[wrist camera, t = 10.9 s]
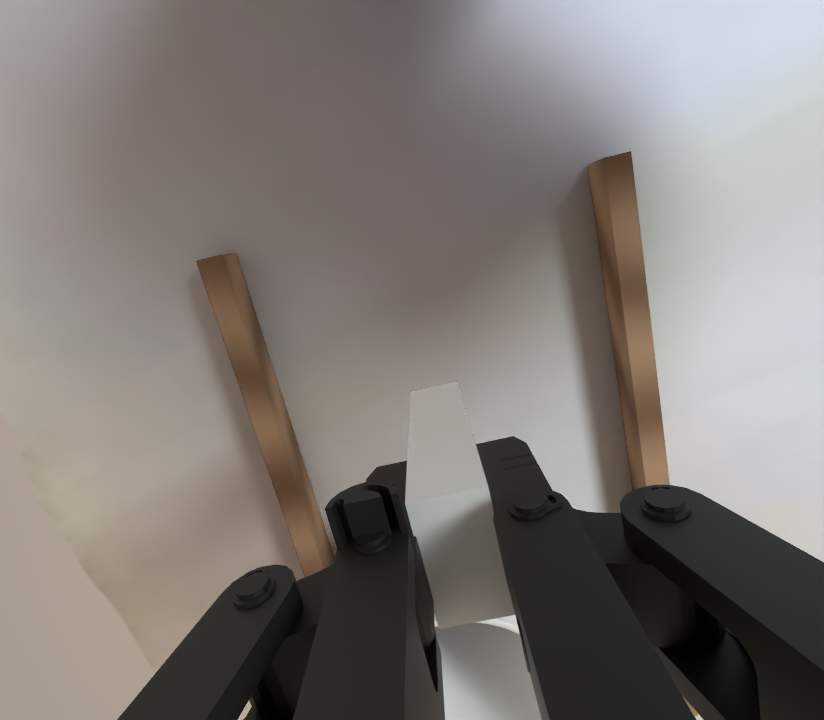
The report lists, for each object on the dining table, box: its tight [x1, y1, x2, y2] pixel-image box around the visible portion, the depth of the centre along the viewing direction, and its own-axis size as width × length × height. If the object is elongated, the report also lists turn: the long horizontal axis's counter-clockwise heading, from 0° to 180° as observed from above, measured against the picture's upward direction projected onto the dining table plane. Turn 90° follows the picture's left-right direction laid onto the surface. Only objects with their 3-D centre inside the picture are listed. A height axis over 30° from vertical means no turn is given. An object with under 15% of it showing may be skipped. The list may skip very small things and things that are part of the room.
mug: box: [434, 613, 542, 720], centre depth 21 cm, size 10×7×12 cm, turn 113°
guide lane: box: [196, 151, 670, 577], centre depth 25 cm, size 24×20×2 cm
